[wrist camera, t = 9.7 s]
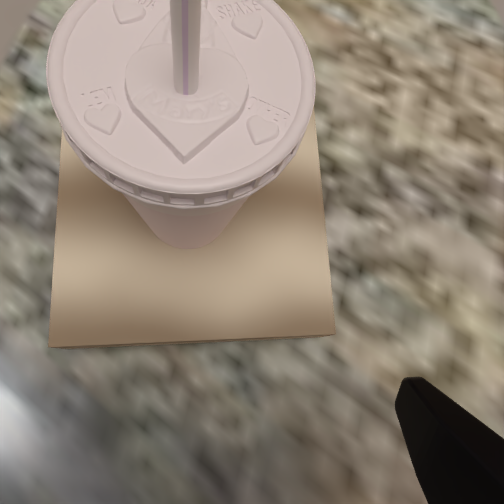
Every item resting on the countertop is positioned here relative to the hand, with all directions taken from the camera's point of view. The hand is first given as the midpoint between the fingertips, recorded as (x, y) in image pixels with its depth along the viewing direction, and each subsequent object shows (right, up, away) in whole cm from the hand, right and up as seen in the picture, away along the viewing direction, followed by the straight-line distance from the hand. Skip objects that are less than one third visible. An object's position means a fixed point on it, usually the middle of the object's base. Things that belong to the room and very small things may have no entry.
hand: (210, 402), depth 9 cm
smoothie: (-2, +5, +10) cm, 12 cm away
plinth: (-2, +5, +12) cm, 13 cm away
